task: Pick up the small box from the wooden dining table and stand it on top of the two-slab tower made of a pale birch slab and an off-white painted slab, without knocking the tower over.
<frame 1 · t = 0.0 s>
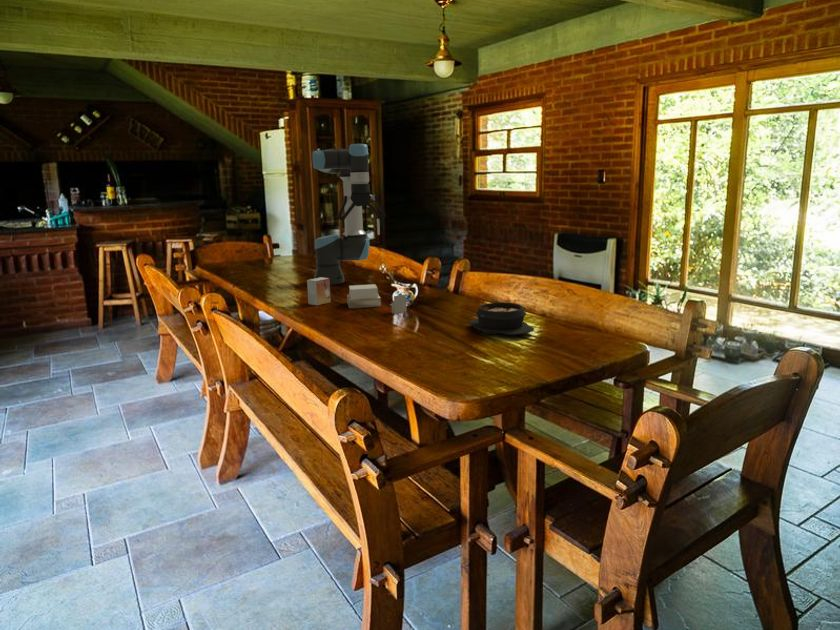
hand: (362, 235, 250), 28 cm above the table, fingers open, 13 cm apart
small box: (319, 303, 254), on the table
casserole: (500, 331, 205), on the table
tower base slab: (364, 305, 250), on the table, touching tower top slab
tower top slab: (363, 296, 249), point 3 cm above the table, touching tower base slab
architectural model: (399, 314, 235), on the table
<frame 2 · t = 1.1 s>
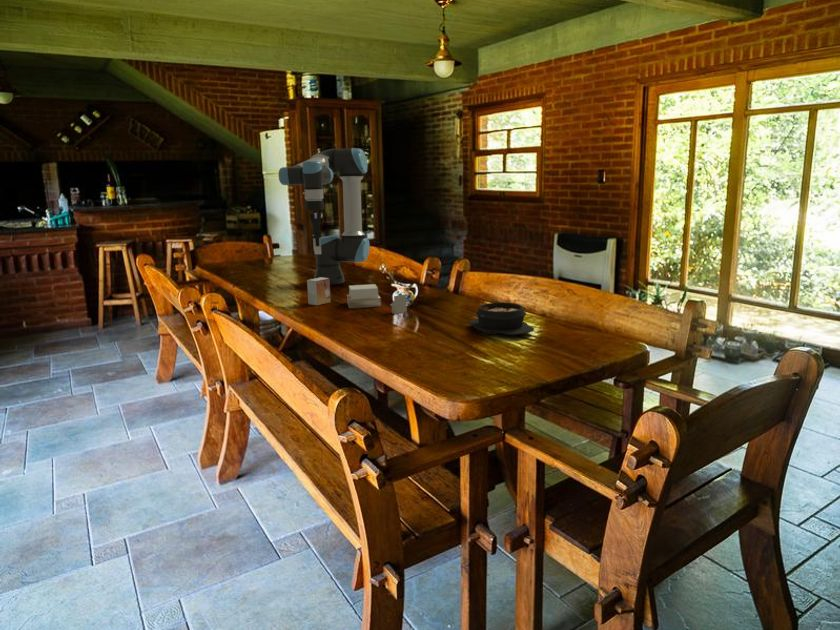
hand: (317, 252, 249), 22 cm above the table, fingers open, 13 cm apart
tower base slab: (363, 305, 250), on the table
tower top slab: (363, 296, 249), point 3 cm above the table
everything else where it was.
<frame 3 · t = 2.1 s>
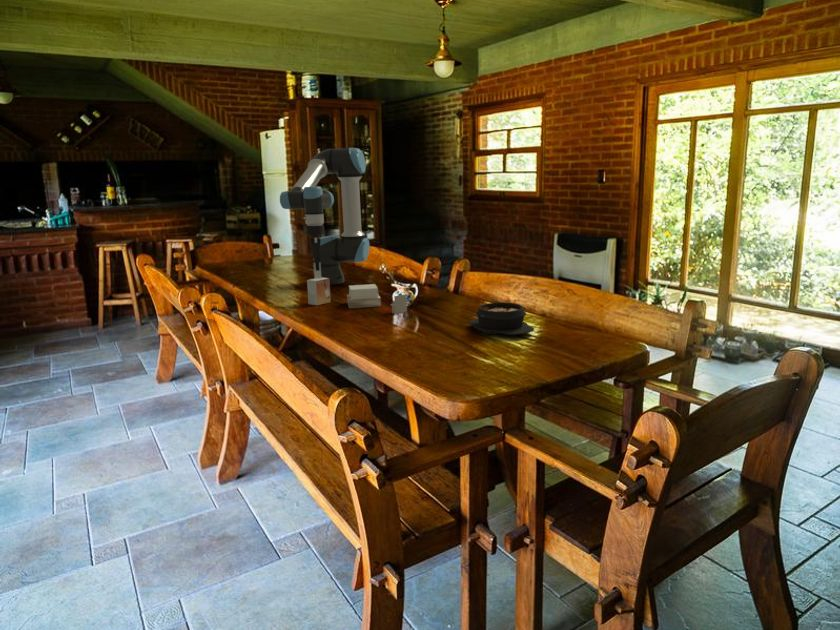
hand: (317, 275, 251), 12 cm above the table, fingers open, 13 cm apart
tower base slab: (363, 305, 250), on the table, touching tower top slab
tower top slab: (363, 296, 249), point 3 cm above the table, touching tower base slab
everything else where it was.
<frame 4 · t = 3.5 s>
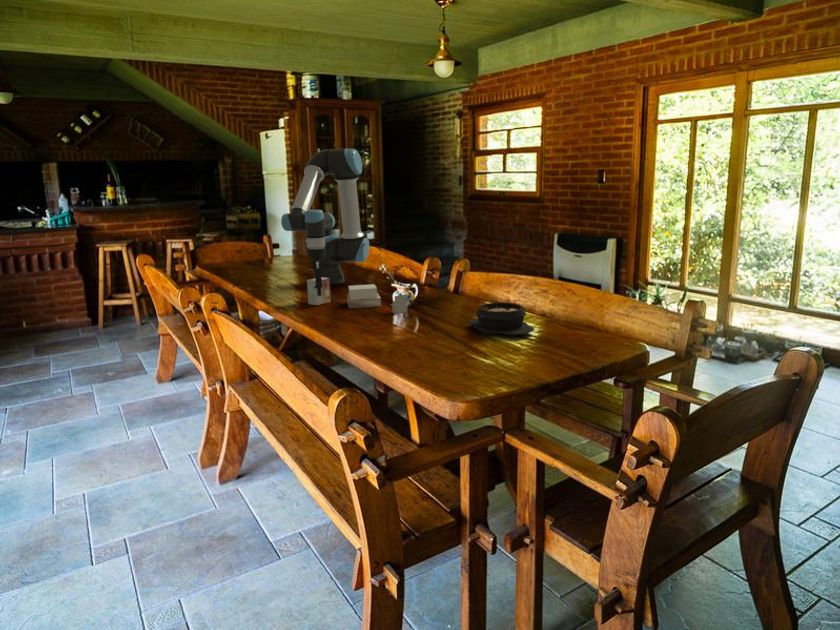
hand: (319, 300, 254), 1 cm above the table, fingers closed on small box, 9 cm apart
small box: (319, 303, 254), on the table, touching gripper
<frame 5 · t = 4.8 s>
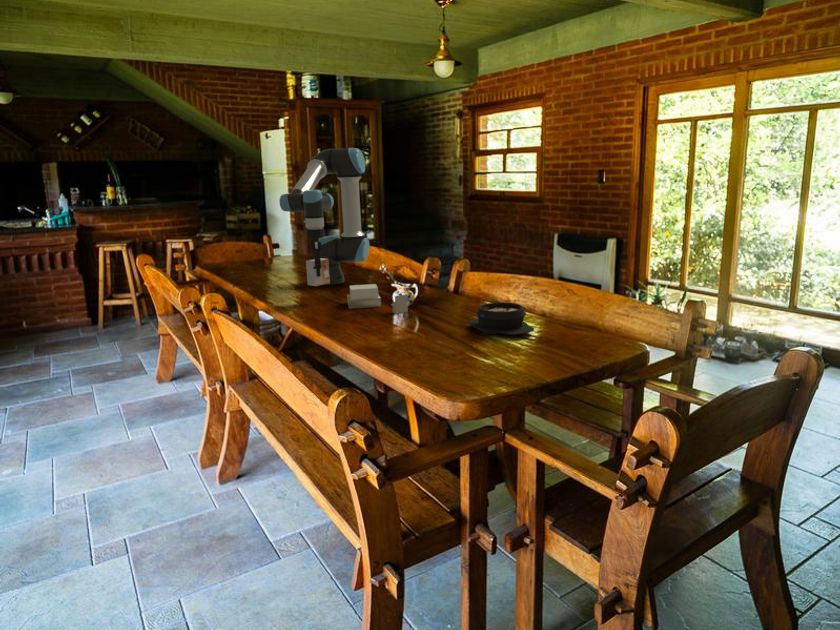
hand: (318, 281, 253), 9 cm above the table, fingers closed on small box, 9 cm apart
small box: (319, 284, 253), point 8 cm above the table, touching gripper
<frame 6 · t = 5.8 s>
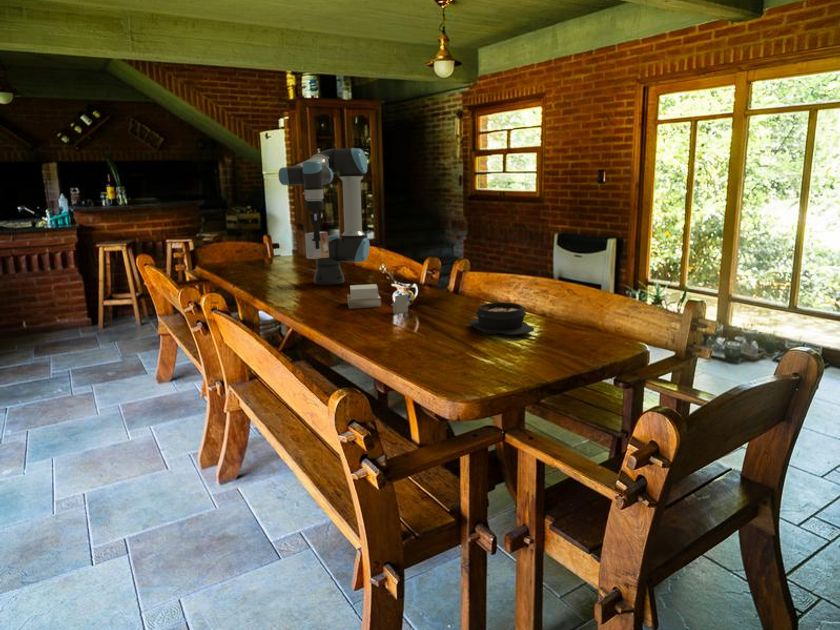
hand: (317, 255, 249), 20 cm above the table, fingers closed on small box, 9 cm apart
small box: (317, 258, 250), point 19 cm above the table, touching gripper
everything else where it was.
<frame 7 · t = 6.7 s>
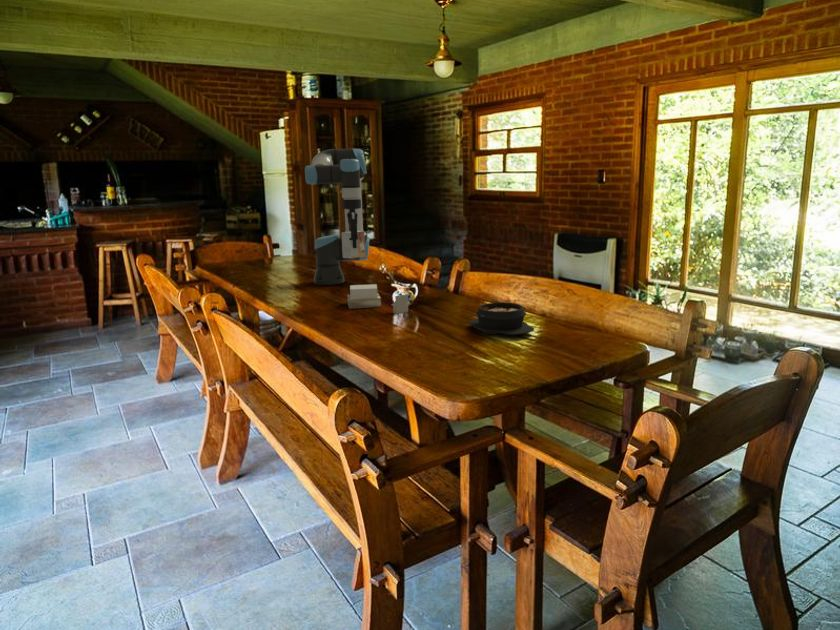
hand: (354, 254, 245), 21 cm above the table, fingers closed on small box, 9 cm apart
small box: (354, 257, 246), point 20 cm above the table, touching gripper
everything else where it was.
when the fingers open (10 cm above the table, at t = 9.4 s): small box drops 2 cm, resting on tower top slab.
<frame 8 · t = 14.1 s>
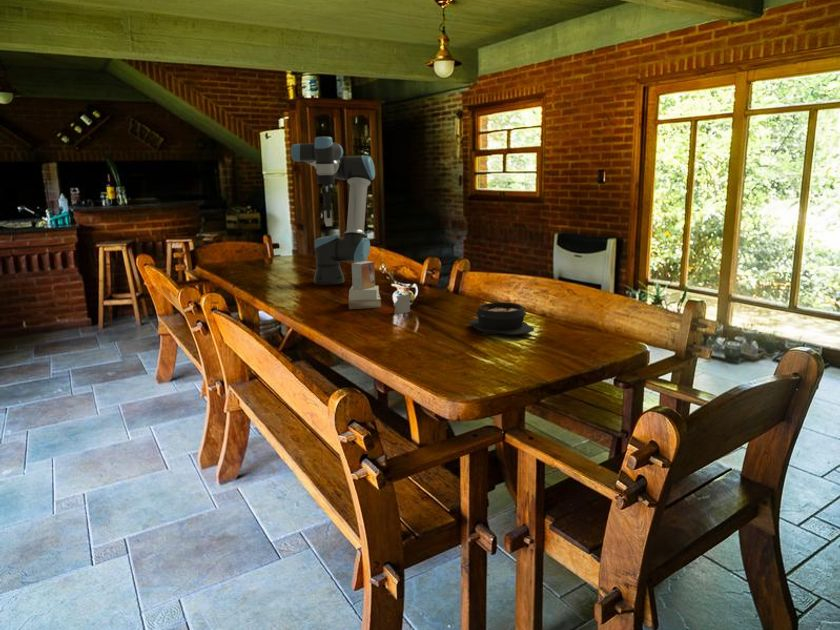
hand: (328, 224, 260), 32 cm above the table, fingers open, 13 cm apart
small box: (364, 288, 247), point 7 cm above the table, touching tower top slab
tower base slab: (364, 306, 248), on the table, touching tower top slab
tower top slab: (364, 297, 247), point 3 cm above the table, touching small box, tower base slab
at the end: small box 0.5 cm off-centre on the tower base slab, point 7.8 cm above the tower base slab's base; small box tilted 0°; tower top slab 0.2 cm off-centre on the tower base slab, point 4.0 cm above the tower base slab's base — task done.
